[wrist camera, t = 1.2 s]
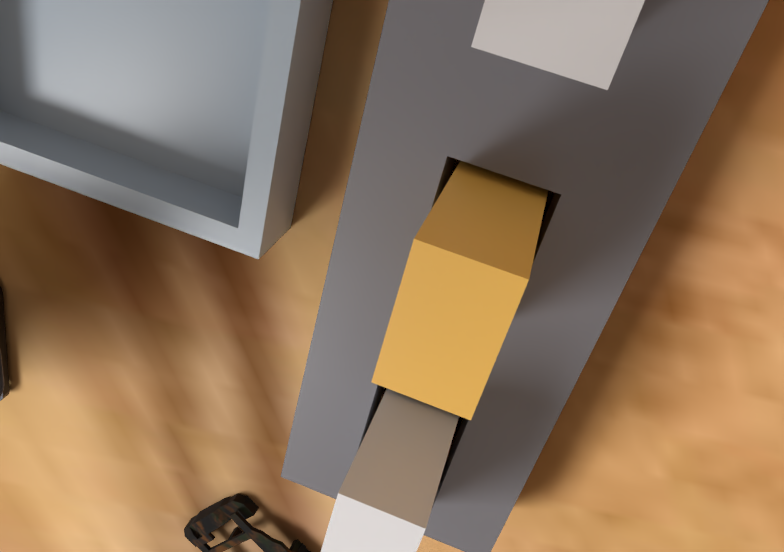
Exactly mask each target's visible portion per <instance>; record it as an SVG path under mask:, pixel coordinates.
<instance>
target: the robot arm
mask: <svg viewBox="0 0 784 552" xmlns="http://www.w3.org/2000/svg"><path fill="white" fill-rule="evenodd" d="M8 394H9V377H8V363H7V348H6V334H5V320H4V305H3V292H2V288H1V287H0V401H1V400H2V399H3V398H5V397H6V396H7V395H8Z"/></svg>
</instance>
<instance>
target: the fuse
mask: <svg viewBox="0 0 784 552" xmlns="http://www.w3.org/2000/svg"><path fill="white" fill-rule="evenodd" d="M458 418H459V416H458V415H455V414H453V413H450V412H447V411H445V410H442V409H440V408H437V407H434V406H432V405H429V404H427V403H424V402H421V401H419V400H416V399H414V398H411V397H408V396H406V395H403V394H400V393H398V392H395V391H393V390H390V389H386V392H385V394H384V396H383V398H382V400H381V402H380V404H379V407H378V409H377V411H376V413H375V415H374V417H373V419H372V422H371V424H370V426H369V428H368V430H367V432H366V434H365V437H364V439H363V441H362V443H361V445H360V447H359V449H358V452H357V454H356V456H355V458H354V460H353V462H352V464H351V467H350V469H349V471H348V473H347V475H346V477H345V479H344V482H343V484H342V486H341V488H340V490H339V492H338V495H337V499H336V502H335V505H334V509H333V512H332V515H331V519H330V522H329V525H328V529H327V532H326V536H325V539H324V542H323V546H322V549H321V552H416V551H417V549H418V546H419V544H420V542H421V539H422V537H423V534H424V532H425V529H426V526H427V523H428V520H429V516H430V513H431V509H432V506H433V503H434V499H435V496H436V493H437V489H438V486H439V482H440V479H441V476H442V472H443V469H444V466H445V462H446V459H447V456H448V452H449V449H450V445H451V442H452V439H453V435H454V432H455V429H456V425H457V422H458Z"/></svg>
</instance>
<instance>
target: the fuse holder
mask: <svg viewBox="0 0 784 552" xmlns="http://www.w3.org/2000/svg"><path fill="white" fill-rule="evenodd" d="M768 1H769V0H645V1H644V4H643V6H642V9H641V11H640V13H639V16H638V18H637V21H636V23H635V25H634V28H633V30H632V33H631V35H630V38H629V40H628V42H627V45H626V47H625V50H624V52H623V54H622V57H621V59H620V62H619V64H618V67H617V69H616V71H615V74H614V76H613V79H612V81H611V83H610V86H609V88H608V90H605V89H602V88H599V87H596V86H593V85H589V84H586V83H583V82H580V81H577V80H574V79H571V78H567V77H564V76H561V75H558V74H555V73H552V72H549V71H545V70H542V69H539V68H536V67H533V66H530V65H527V64H523V63H520V62H517V61H514V60H511V59H508V58H505V57H501V56H498V55H495V54H492V53H489V52H486V51H483V50H479V49H476V48H473V47H471V45H472V42H473V39H474V35H475V32H476V29H477V25H478V22H479V18H480V15H481V12H482V8H483V5H484V2H485V0H389V3H388V7H387V11H386V16H385V20H384V25H383V29H382V33H381V38H380V42H379V47H378V51H377V55H376V60H375V64H374V69H373V73H372V77H371V82H370V86H369V91H368V95H367V99H366V104H365V108H364V113H363V117H362V121H361V126H360V130H359V135H358V139H357V143H356V148H355V152H354V157H353V161H352V165H351V170H350V174H349V179H348V183H347V187H346V192H345V196H344V201H343V205H342V209H341V214H340V218H339V222H338V227H337V231H336V236H335V240H334V244H333V249H332V253H331V258H330V262H329V266H328V271H327V275H326V280H325V284H324V288H323V293H322V297H321V302H320V306H319V310H318V315H317V319H316V324H315V328H314V332H313V337H312V341H311V346H310V350H309V354H308V359H307V363H306V368H305V372H304V376H303V381H302V385H301V390H300V394H299V398H298V403H297V407H296V412H295V416H294V420H293V425H292V429H291V434H290V438H289V442H288V447H287V451H286V456H285V460H284V464H283V469H282V473H281V477H283V478H285V479H288V480H290V481H293V482H295V483H298V484H300V485H303V486H305V487H308V488H310V489H312V490H315V491H317V492H320V493H322V494H325V495H327V496H330V497H332V498H335V499H337V495H338V492H339V490H340V488H341V486H342V484H343V482H344V479H345V477H346V475H347V473H348V471H349V469H350V467H351V464H352V462H353V460H354V458H355V456H356V454H357V452H358V449H359V447H360V445H361V443H362V441H363V439H364V437H365V434H366V432H367V430H368V428H369V426H370V424H371V422H372V419H373V417H374V415H375V413H376V411H377V409H378V405H379V402H380V399H381V396H382V393H383V389H384V387H382V386H380V385H377V384H374V383H372V382H371V381H372V378H373V375H374V371H375V368H376V364H377V361H378V358H379V354H380V351H381V348H382V344H383V341H384V338H385V334H386V331H387V327H388V324H389V321H390V317H391V314H392V311H393V307H394V304H395V301H396V297H397V294H398V290H399V287H400V284H401V280H402V277H403V274H404V270H405V267H406V264H407V260H408V257H409V253H410V250H411V247H412V243H413V240H414V238H415V236H416V234H417V233H418V231H419V229H420V228H421V226H422V224H423V223H424V221H425V219H426V218H427V216H428V214H429V213H430V211H431V209H432V207H433V206H434V204H435V202H436V201H437V199H438V197H439V196H440V194H441V192H442V191H443V189H444V187H445V186H446V184H447V182H448V181H449V178H450V175H451V171H452V168H453V165H454V162H455V159H458V160H461V161H464V162H467V163H469V164H472V165H475V166H478V167H481V168H484V169H487V170H490V171H493V172H496V173H499V174H502V175H505V176H508V177H511V178H514V179H517V180H520V181H523V182H526V183H529V184H531V185H534V186H537V187H540V188H543V189H546V190H549V191H552V192H555V193H554V196H553V198H552V201H551V203H550V206H549V208H548V211H547V213H546V216H545V218H544V221H543V223H542V225H541V228H540V231H539V236H538V240H537V245H536V250H535V254H534V259H533V264H532V268H531V273H530V278H529V281H528V283H527V286H526V288H525V291H524V293H523V296H522V298H521V300H520V303H519V305H518V308H517V310H516V312H515V315H514V317H513V320H512V322H511V325H510V327H509V329H508V332H507V334H506V337H505V339H504V341H503V344H502V346H501V349H500V351H499V354H498V356H497V358H496V361H495V363H494V366H493V368H492V370H491V373H490V375H489V378H488V380H487V383H486V385H485V387H484V390H483V392H482V395H481V397H480V399H479V402H478V404H477V407H476V409H475V412H474V414H473V416H472V419H471V420H468V419H466V418H463V420H462V423H461V425H460V428H459V430H458V433H457V435H456V438H455V440H454V443H453V445H452V448H451V450H450V453H449V455H448V458H447V460H446V462H445V466H444V469H443V472H442V476H441V479H440V482H439V486H438V489H437V493H436V496H435V499H434V503H433V506H432V509H431V513H430V516H429V520H428V523H427V526H426V529H425V532H424V534H423V535H425V536H428V537H430V538H433V539H435V540H438V541H440V542H442V543H445V544H447V545H450V546H452V547H455V548H457V549H460V550H462V551H465V552H491V550H492V548H493V546H494V544H495V542H496V540H497V538H498V536H499V534H500V532H501V530H502V528H503V526H504V524H505V522H506V520H507V518H508V516H509V514H510V512H511V510H512V508H513V507H514V505H515V503H516V501H517V499H518V497H519V495H520V493H521V491H522V489H523V487H524V485H525V483H526V481H527V479H528V477H529V475H530V473H531V471H532V469H533V467H534V465H535V463H536V461H537V459H538V457H539V455H540V453H541V451H542V449H543V447H544V445H545V443H546V441H547V439H548V437H549V435H550V433H551V431H552V429H553V427H554V425H555V423H556V421H557V419H558V417H559V415H560V413H561V411H562V409H563V407H564V405H565V403H566V401H567V399H568V397H569V396H570V394H571V392H572V390H573V388H574V386H575V384H576V382H577V380H578V378H579V376H580V374H581V372H582V370H583V368H584V366H585V364H586V362H587V360H588V358H589V356H590V354H591V352H592V350H593V348H594V346H595V344H596V342H597V340H598V338H599V336H600V334H601V332H602V330H603V328H604V326H605V324H606V322H607V320H608V318H609V316H610V314H611V312H612V310H613V308H614V306H615V304H616V302H617V300H618V298H619V296H620V294H621V292H622V290H623V288H624V286H625V284H626V283H627V281H628V279H629V277H630V275H631V273H632V271H633V269H634V267H635V265H636V263H637V261H638V259H639V257H640V255H641V253H642V251H643V249H644V247H645V245H646V243H647V241H648V239H649V237H650V235H651V233H652V231H653V229H654V227H655V225H656V223H657V221H658V219H659V217H660V215H661V213H662V211H663V209H664V207H665V205H666V203H667V201H668V199H669V197H670V195H671V193H672V191H673V189H674V187H675V185H676V183H677V181H678V179H679V177H680V175H681V173H682V172H683V170H684V168H685V166H686V164H687V162H688V160H689V158H690V156H691V154H692V152H693V150H694V148H695V146H696V144H697V142H698V140H699V138H700V136H701V134H702V132H703V130H704V128H705V126H706V124H707V122H708V120H709V118H710V116H711V114H712V112H713V110H714V108H715V106H716V104H717V102H718V100H719V98H720V96H721V94H722V92H723V90H724V88H725V86H726V84H727V82H728V80H729V78H730V76H731V74H732V72H733V70H734V68H735V66H736V64H737V62H738V60H739V59H740V57H741V55H742V53H743V51H744V49H745V47H746V45H747V43H748V41H749V39H750V37H751V35H752V33H753V31H754V29H755V27H756V25H757V23H758V21H759V19H760V17H761V15H762V13H763V11H764V9H765V7H766V5H767V3H768Z"/></svg>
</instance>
